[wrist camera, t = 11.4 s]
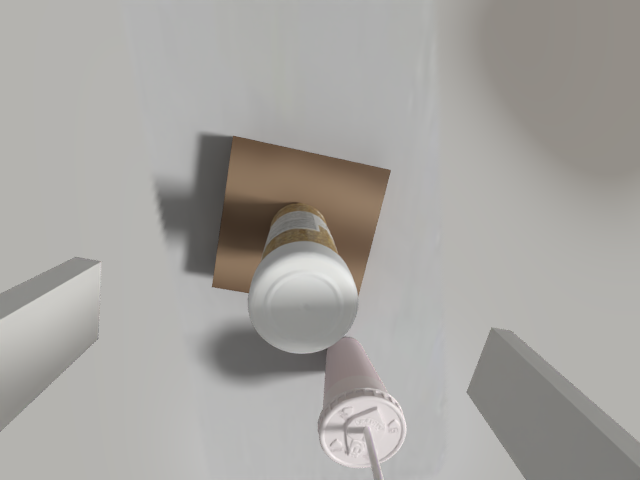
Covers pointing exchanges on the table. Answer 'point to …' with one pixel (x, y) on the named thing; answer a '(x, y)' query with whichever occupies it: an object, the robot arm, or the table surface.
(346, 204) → the walnut base
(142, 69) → the table surface
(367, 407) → the smoothie
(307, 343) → the sprinkles bottle
